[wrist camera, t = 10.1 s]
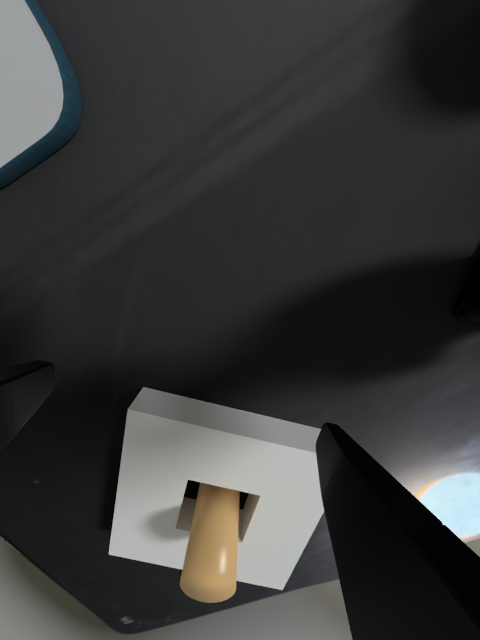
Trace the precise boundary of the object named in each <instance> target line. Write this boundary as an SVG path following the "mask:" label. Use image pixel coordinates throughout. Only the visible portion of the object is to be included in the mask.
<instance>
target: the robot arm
mask: <svg viewBox="0 0 480 640" xmlns="http://www.w3.org/2000/svg"><path fill="white" fill-rule="evenodd" d="M462 309H463V312H462V313H460V311H461V310H462ZM452 314H453V315H454V316H455V317H457V318H460V319H464V320H467V321H471V322H475V323H479V324H480V262H479V263H478V265H477V267H476V269H475V271H474V272H473V274H472V276H471V278H470V280H469V281H468V283H467V285H466V287H465V289H464V290H463V292H462V294H461V296H460V298H459V299H458V301H457V303H456V305H455V307H454V308H453V311H452ZM53 388H54V365H53V364H52V363H51V362H46V361H41V360H37V361H32V362H28V363H23V364H19V365H14V366H10V367H5V368H1V369H0V450H1V449H2V448H3V447H4V446H5V445H6V444H7V443H8V442H9V441H10V440H11V439H12V438H13V437H14V436H15V435H16V434H17V433H18V432H19V430H20V429H21V428H22V427H23V426H24V425H25V423H26V422H27V421H28V420H29V419H30V417H31V416H32V415H33V414H34V413H35V411H36V410H37V409H38V408H39V407H40V405H41V404H42V403H43V402H44V401H45V399H46V398H47V397H48V396H49V395H50V393H51V392H52V390H53ZM316 457H317V465H318V474H319V482H320V490H321V497H322V502H323V507H324V512H325V516H326V521H327V525H328V530H329V534H330V539H331V543H332V548H333V553H334V557H335V562H336V566H337V571H338V575H339V580H340V584H341V589H342V593H343V598H344V602H345V607H346V612H347V616H348V620H349V625H350V630H351V634H352V639H353V640H480V557H479V556H478V555H477V554H476V553H475V552H473V551H472V550H471V549H470V548H469V547H468V546H467V545H466V544H465V543H464V542H462V541H461V540H460V539H459V538H458V537H457V536H456V535H455V534H454V533H453V532H452V531H451V530H450V529H449V528H448V527H446V526H445V525H443V524H442V522H441V521H440V520H439V519H438V518H437V517H436V516H435V515H434V514H432V513H431V512H430V511H429V510H428V509H427V508H426V507H425V506H424V505H423V504H422V503H421V502H420V501H419V500H417V499H416V498H415V497H414V496H413V495H412V494H411V493H410V492H409V491H408V490H407V489H406V488H405V487H404V486H402V485H401V484H400V483H399V482H398V481H397V480H396V479H395V478H394V477H393V476H392V475H391V474H390V473H389V472H387V471H386V470H385V469H384V468H383V467H382V466H381V465H380V464H379V463H378V462H377V461H376V460H375V459H374V458H372V457H371V456H370V455H369V454H368V453H367V452H366V451H365V450H364V449H363V448H362V447H361V446H360V445H359V444H357V443H356V442H355V441H354V440H353V439H352V438H351V437H350V436H349V435H348V434H347V433H346V432H345V431H344V430H342V429H341V428H340V427H339V426H338V425H336V424H332V423H324V424H323V426H322V429H321V431H320V433H319V436H318V438H317V441H316Z"/></svg>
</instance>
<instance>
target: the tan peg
mask: <svg viewBox="0 0 480 640" xmlns="http://www.w3.org/2000/svg"><path fill="white" fill-rule="evenodd" d="M239 499H240V491H237V490H232V489H228V488H223V487H219V486H214V485H210V484H205V483H201V482H200V485H199V490H198V495H197V500H196V505H195V510H194V515H193V520H192V525H191V530H190V535H189V540H188V545H187V550H186V555H185V560H184V565H183V570H182V575H181V580H180V587H181V589H182V591H183V592H184V593H185V594H186V595H187V596H189V597H191V598H193V599H195V600H198V601H201V602H209V603H214V602H221V601H224V600H227V599H229V598H230V597H231V596H233V594H234V593H235V591H236V575H237V550H238V525H239Z"/></svg>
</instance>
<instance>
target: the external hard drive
mask: <svg viewBox="0 0 480 640" xmlns="http://www.w3.org/2000/svg"><path fill="white" fill-rule="evenodd" d="M45 37H46V38H45ZM81 112H82V103H81V94H80V90H79V86H78V82H77V78H76V76H75V73H74V71H73V68H72V66H71V63H70V61H69V59H68V57H67V55H66V53H65V51H64V49H63V47H62V45H61V43H60V41H59V40H58V38H57V36H56V34H55V32H54V31H53V29H52V27H51V25H50V23H49V22H48V20H47V18H46V16H45V15H44V13H43V11H42V9H41V7H40V6H39V4H38V2H37V0H0V188H2V187H4V186H6V185H8V184H10V183H11V182H13V181H14V180H15V179H17V178H18V177H20V176H21V175H23V174H24V173H25V172H27V171H28V170H30V169H31V168H33V167H34V166H36V165H37V164H38V163H40V162H41V161H43V160H44V159H46V158H47V157H48V156H50V155H51V154H53V153H54V152H56V151H57V150H59V149H60V148H61V147H63V146H64V145H65V144H66V143H67V142H68V141H69V140H70V139H71V138H72V137H73V135H74V134H75V132H76V131H77V128H78V126H79V123H80V120H81Z"/></svg>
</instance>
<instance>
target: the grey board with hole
mask: <svg viewBox="0 0 480 640" xmlns="http://www.w3.org/2000/svg"><path fill="white" fill-rule="evenodd" d="M320 431H321V429H318V428H314V427H310V426H306V425H302V424H297V423H293V422H289V421H285V420H281V419H276V418H272V417H268V416H264V415H260V414H255V413H251V412H247V411H243V410H238V409H234V408H230V407H226V406H222V405H217V404H213V403H209V402H205V401H201V400H196V399H192V398H188V397H184V396H180V395H175V394H171V393H167V392H163V391H158V390H154V389H150V388H146V387H143V388H142V390H141V391H140V392H139V394H138V395H137V397H136V398H135V400H134V401H133V402H132V404H131V405H130V407H129V408H128V411H127V419H126V426H125V434H124V441H123V449H122V457H121V464H120V472H119V479H118V487H117V495H116V502H115V510H114V517H113V525H112V532H111V540H110V548H109V555H114V556H119V557H124V558H129V559H134V560H138V561H143V562H148V563H153V564H158V565H163V566H168V567H172V568H177V569H182V570H183V565H184V560H185V555H186V550H187V545H188V540H189V535H190V530H191V525H192V520H193V515H194V510H195V505H196V500H195V499H191V498H186V497H184V493H185V489H186V485H187V481H188V480H192V481H196V482H201V483H205V484H210V485H214V486H219V487H223V488H228V489H232V490H237V491H241V492H246V493H249V495H248V497H247V500H246V503H245V505H244V508H243V510H241V509H239V525H238V550H237V575H236V581H241V582H246V583H250V584H255V585H260V586H265V587H270V588H275V589H280V590H283V588H284V586H285V584H286V582H287V581H288V579H289V577H290V575H291V573H292V571H293V569H294V567H295V565H296V563H297V562H298V560H299V558H300V556H301V554H302V552H303V550H304V548H305V546H306V544H307V543H308V541H309V539H310V537H311V535H312V533H313V531H314V529H315V527H316V525H317V524H318V522H319V520H320V518H321V516H322V514H323V512H324V507H323V502H322V497H321V490H320V482H319V474H318V465H317V457H316V441H317V438H318V436H319V433H320Z"/></svg>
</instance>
